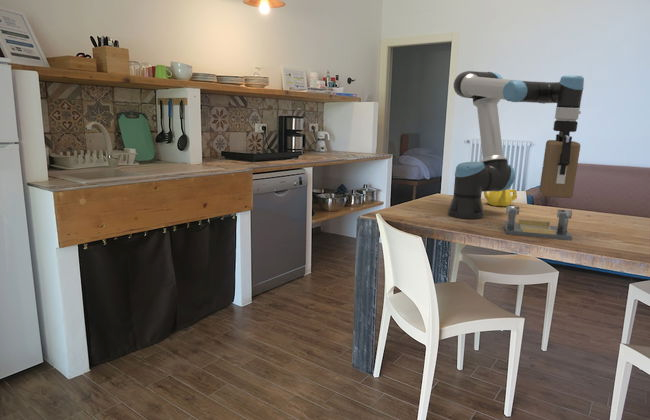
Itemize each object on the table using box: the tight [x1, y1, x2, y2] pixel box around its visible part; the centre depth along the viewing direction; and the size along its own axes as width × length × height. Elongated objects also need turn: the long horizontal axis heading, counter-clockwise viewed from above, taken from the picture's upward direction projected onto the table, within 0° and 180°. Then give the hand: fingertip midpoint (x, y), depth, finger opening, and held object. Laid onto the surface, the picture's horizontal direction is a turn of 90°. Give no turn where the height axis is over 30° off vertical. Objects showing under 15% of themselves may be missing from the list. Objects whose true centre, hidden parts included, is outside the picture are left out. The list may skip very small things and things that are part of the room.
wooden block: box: [539, 139, 581, 199], centre depth 168 cm, size 10×10×20 cm
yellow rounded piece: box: [483, 188, 518, 207], centre depth 228 cm, size 14×13×10 cm
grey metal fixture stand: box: [503, 205, 573, 241], centre depth 174 cm, size 22×15×10 cm
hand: (557, 181), depth 170 cm, fingers closed on wooden block, 10 cm apart
